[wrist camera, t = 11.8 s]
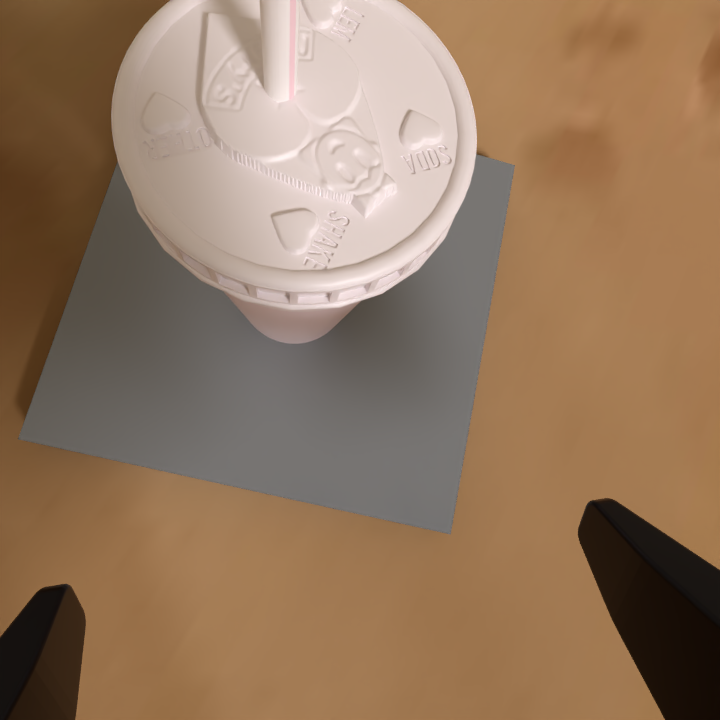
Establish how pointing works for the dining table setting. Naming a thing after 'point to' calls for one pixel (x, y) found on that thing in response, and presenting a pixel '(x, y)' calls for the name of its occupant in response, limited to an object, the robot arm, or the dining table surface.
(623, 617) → the robot arm
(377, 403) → the slate trivet
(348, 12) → the smoothie
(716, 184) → the dining table surface
